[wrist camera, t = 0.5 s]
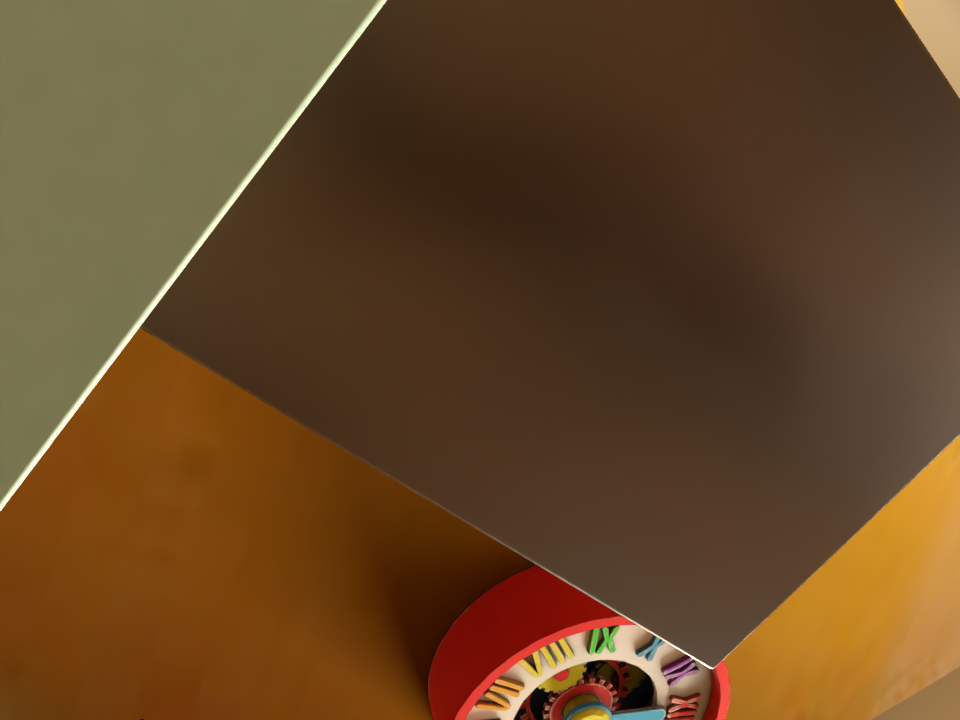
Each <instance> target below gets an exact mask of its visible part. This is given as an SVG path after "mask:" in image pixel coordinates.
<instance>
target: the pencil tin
mask: <svg viewBox="0 0 960 720" xmlns="http://www.w3.org/2000/svg"><path fill="white" fill-rule="evenodd" d="M386 1H387V0H0V511H1V510H2V508H3V507H4V506H5V504H6V503H7V502H8V500H9V499H10V498H11V496H12V495H13V494H14V493H15V491H16V490H17V489H18V487H19V486H20V485H21V483H22V482H23V481H24V479H25V478H26V477H27V475H28V474H29V473H30V471H31V470H32V469H33V467H34V466H35V465H36V463H37V462H38V461H39V459H40V458H41V457H42V456H43V454H44V453H45V452H46V450H47V449H48V448H49V446H50V445H51V444H52V442H53V441H54V440H55V438H56V437H57V436H58V434H59V433H60V432H61V430H62V429H63V428H64V426H65V425H66V424H67V423H68V421H69V420H70V419H71V417H72V416H73V415H74V413H75V412H76V411H77V409H78V408H79V407H80V405H81V404H82V403H83V401H84V400H85V399H86V397H87V396H88V395H89V393H90V392H91V391H92V389H93V388H94V387H95V386H96V384H97V383H98V382H99V380H100V379H101V378H102V376H103V375H104V374H105V372H106V371H107V370H108V368H109V367H110V366H111V364H112V363H113V362H114V360H115V359H116V358H117V356H118V355H119V354H120V352H121V351H122V350H123V349H124V347H125V346H126V345H127V343H128V342H129V341H130V339H131V338H132V337H133V335H134V334H135V333H136V331H137V330H138V329H139V327H140V326H141V325H142V323H143V322H144V321H145V319H146V318H147V317H148V315H149V314H150V313H151V312H152V310H153V309H154V308H155V306H156V305H157V304H158V302H159V301H160V300H161V298H162V297H163V296H164V294H165V293H166V292H167V290H168V289H169V288H170V286H171V285H172V284H173V282H174V281H175V280H176V279H177V277H178V276H179V275H180V273H181V272H182V271H183V269H184V268H185V267H186V265H187V264H188V263H189V261H190V260H191V259H192V257H193V256H194V255H195V253H196V252H197V251H198V249H199V248H200V247H201V245H202V244H203V243H204V242H205V240H206V239H207V238H208V236H209V235H210V234H211V232H212V231H213V230H214V228H215V227H216V226H217V224H218V223H219V222H220V220H221V219H222V218H223V216H224V215H225V214H226V212H227V211H228V210H229V208H230V207H231V206H232V205H233V203H234V202H235V201H236V199H237V198H238V197H239V195H240V194H241V193H242V191H243V190H244V189H245V187H246V186H247V185H248V183H249V182H250V181H251V179H252V178H253V177H254V175H255V174H256V173H257V171H258V170H259V169H260V168H261V166H262V165H263V164H264V162H265V161H266V160H267V158H268V157H269V156H270V154H271V153H272V152H273V150H274V149H275V148H276V146H277V145H278V144H279V142H280V141H281V140H282V138H283V137H284V136H285V135H286V133H287V132H288V131H289V129H290V128H291V127H292V125H293V124H294V123H295V121H296V120H297V119H298V117H299V116H300V115H301V113H302V112H303V111H304V109H305V108H306V107H307V105H308V104H309V103H310V101H311V100H312V99H313V98H314V96H315V95H316V94H317V92H318V91H319V90H320V88H321V87H322V86H323V84H324V83H325V82H326V80H327V79H328V78H329V76H330V75H331V74H332V72H333V71H334V70H335V68H336V67H337V66H338V64H339V63H340V62H341V61H342V59H343V58H344V57H345V55H346V54H347V53H348V51H349V50H350V49H351V47H352V46H353V45H354V43H355V42H356V41H357V39H358V38H359V37H360V35H361V34H362V33H363V31H364V30H365V29H366V27H367V26H368V25H369V24H370V22H371V21H372V20H373V18H374V17H375V16H376V14H377V13H378V12H379V10H380V9H381V8H382V6H383V5H384V4H385V2H386Z"/></svg>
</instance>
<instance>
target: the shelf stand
mask: <svg viewBox="0 0 960 720" xmlns="http://www.w3.org/2000/svg"><path fill="white" fill-rule="evenodd" d="M139 328H141V329H142V330H144V331H146V332H147V333H149V334H151V335H152V336H154V337H156V338H157V339H159V340H161V341H162V342H164V343H166V344H168V345H169V346H171V347H173V348H174V349H176V350H178V351H179V352H181V353H183V354H184V355H186V356H188V357H189V358H191V359H193V360H194V361H196V362H198V363H199V364H201V365H203V366H204V367H206V368H208V369H209V370H211V371H213V372H214V373H216V374H218V375H219V376H221V377H223V378H224V379H226V380H228V381H229V382H231V383H233V384H234V385H236V386H238V387H239V388H241V389H243V390H244V391H246V392H248V393H250V394H251V395H253V396H255V397H256V398H258V399H260V400H261V401H263V402H265V403H266V404H268V405H270V406H271V407H273V408H275V409H276V410H278V411H280V412H281V413H283V414H285V415H286V416H288V417H290V418H291V419H293V420H295V421H296V422H298V423H300V424H301V425H303V426H305V427H306V428H308V429H310V430H311V431H313V432H315V433H316V434H318V435H320V436H321V437H323V438H325V439H326V440H328V441H330V442H332V443H333V444H335V445H337V446H338V447H340V448H342V449H343V450H345V451H347V452H348V453H350V454H352V455H353V456H355V457H357V458H358V459H360V460H362V461H363V462H365V463H367V464H368V465H370V466H372V467H373V468H375V469H377V470H378V471H380V472H382V473H383V474H385V475H387V476H388V477H390V478H392V479H393V480H395V481H397V482H398V483H400V484H402V485H403V486H405V487H407V488H409V489H410V490H412V491H414V492H415V493H417V494H419V495H420V496H422V497H424V498H425V499H427V500H429V501H430V502H432V503H434V504H435V505H437V506H439V507H440V508H442V509H444V510H445V511H447V512H449V513H450V514H452V515H454V516H455V517H457V518H459V519H460V520H462V521H464V522H465V523H467V524H469V525H470V526H472V527H474V528H475V529H477V530H479V531H480V532H482V533H484V534H485V535H487V536H489V537H491V538H492V539H494V540H496V541H497V542H499V543H501V544H502V545H504V546H506V547H507V548H509V549H511V550H512V551H514V552H516V553H517V554H519V555H521V556H522V557H524V558H526V559H527V560H529V561H531V562H532V563H534V564H536V565H537V566H539V567H541V568H542V569H544V570H546V571H547V572H549V573H551V574H552V575H554V576H556V577H557V578H559V579H561V580H562V581H564V582H566V583H567V584H569V585H571V586H573V587H574V588H576V589H578V590H579V591H581V592H583V593H584V594H586V595H588V596H589V597H591V598H593V599H594V600H596V601H598V602H599V603H601V604H603V605H604V606H606V607H608V608H609V609H611V610H613V611H614V612H616V613H618V614H619V615H621V616H623V617H624V618H626V619H628V620H629V621H631V622H633V623H634V624H636V625H638V626H639V627H641V628H643V629H644V630H646V631H648V632H650V633H651V634H653V635H655V636H656V637H658V638H660V639H661V640H663V641H665V642H666V643H668V644H670V645H671V646H673V647H675V648H676V649H678V650H680V651H681V652H683V653H685V654H686V655H688V656H690V657H691V658H693V659H695V660H696V661H698V662H700V663H701V664H703V665H705V666H706V667H708V668H710V669H714V668H715V667H716V666H717V665H718V664H719V663H720V662H722V661H723V660H724V659H725V658H726V657H727V656H728V655H729V654H730V653H731V652H732V651H733V650H734V649H735V648H736V647H737V646H738V645H739V644H740V643H741V642H743V641H744V640H745V639H746V638H747V637H748V636H749V635H750V634H751V633H752V632H753V631H754V630H755V629H756V628H757V627H758V626H759V625H760V624H761V623H763V622H764V621H765V620H766V619H767V618H768V617H769V616H770V615H771V614H772V613H773V612H774V611H775V610H776V609H777V608H778V607H779V606H780V605H781V604H783V603H784V602H785V601H786V600H787V599H788V598H789V597H790V596H791V595H792V594H793V593H794V592H795V591H796V590H797V589H798V588H799V587H800V586H801V585H803V584H804V583H805V582H806V581H807V580H808V579H809V578H810V577H811V576H812V575H813V574H814V573H815V572H816V571H817V570H818V569H819V568H820V567H821V566H823V565H824V564H825V563H826V562H827V561H828V560H829V559H830V558H831V557H832V556H833V555H834V554H835V553H836V552H837V551H838V550H839V549H840V548H841V547H843V546H844V545H845V544H846V543H847V542H848V541H849V540H850V539H851V538H852V537H853V536H854V535H855V534H856V533H857V532H858V531H859V530H860V529H861V528H862V527H864V526H865V525H866V524H867V523H868V522H869V521H870V520H871V519H872V518H873V517H874V516H875V515H876V514H877V513H878V512H879V511H880V510H881V509H882V508H884V507H885V506H886V505H887V504H888V503H889V502H890V501H891V500H892V499H893V498H894V497H895V496H896V495H897V494H898V493H899V492H900V491H901V490H902V489H904V488H905V487H906V486H907V485H908V484H909V483H910V482H911V481H912V480H913V479H914V478H915V477H916V476H917V475H918V474H919V473H920V472H921V471H922V470H924V469H925V468H926V467H927V466H928V465H929V464H930V463H931V462H932V461H933V460H934V459H935V458H936V457H937V456H938V455H939V454H940V453H941V452H942V451H944V450H945V449H946V448H947V447H948V446H949V445H950V444H951V443H952V442H953V441H954V440H955V439H956V438H957V437H958V436H959V435H960V99H959V97H958V96H957V94H956V93H955V91H954V90H953V88H952V87H951V85H950V84H949V82H948V81H947V79H946V78H945V76H944V75H943V73H942V71H941V70H940V68H939V67H938V65H937V64H936V62H935V61H934V59H933V58H932V57H931V55H930V53H929V52H928V51H927V49H926V47H925V46H924V44H923V43H922V41H921V40H920V39H919V37H918V35H917V34H916V32H915V31H914V29H913V28H912V26H911V25H910V23H909V22H908V20H907V19H906V17H905V16H904V14H903V13H902V11H901V10H900V8H899V7H898V5H897V4H896V2H895V0H387V1H386V2H385V4H384V5H383V6H382V8H381V9H380V10H379V12H378V13H377V14H376V16H375V17H374V18H373V20H372V21H371V22H370V24H369V25H368V26H367V27H366V29H365V30H364V31H363V33H362V34H361V35H360V37H359V38H358V39H357V41H356V42H355V43H354V45H353V46H352V47H351V49H350V50H349V51H348V53H347V54H346V55H345V57H344V58H343V59H342V61H341V62H340V63H339V64H338V66H337V67H336V68H335V70H334V71H333V72H332V74H331V75H330V76H329V78H328V79H327V80H326V82H325V83H324V84H323V86H322V87H321V88H320V90H319V91H318V92H317V94H316V95H315V96H314V98H313V99H312V100H311V101H310V103H309V104H308V105H307V107H306V108H305V109H304V111H303V112H302V113H301V115H300V116H299V117H298V119H297V120H296V121H295V123H294V124H293V125H292V127H291V128H290V129H289V131H288V132H287V133H286V135H285V136H284V137H283V138H282V140H281V141H280V142H279V144H278V145H277V146H276V148H275V149H274V150H273V152H272V153H271V154H270V156H269V157H268V158H267V160H266V161H265V162H264V164H263V165H262V166H261V168H260V169H259V170H258V171H257V173H256V174H255V175H254V177H253V178H252V179H251V181H250V182H249V183H248V185H247V186H246V187H245V189H244V190H243V191H242V193H241V194H240V195H239V197H238V198H237V199H236V201H235V202H234V203H233V205H232V206H231V207H230V208H229V210H228V211H227V212H226V214H225V215H224V216H223V218H222V219H221V220H220V222H219V223H218V224H217V226H216V227H215V228H214V230H213V231H212V232H211V234H210V235H209V236H208V238H207V239H206V240H205V242H204V243H203V244H202V245H201V247H200V248H199V249H198V251H197V252H196V253H195V255H194V256H193V257H192V259H191V260H190V261H189V263H188V264H187V265H186V267H185V268H184V269H183V271H182V272H181V273H180V275H179V276H178V277H177V279H176V280H175V281H174V282H173V284H172V285H171V286H170V288H169V289H168V290H167V292H166V293H165V294H164V296H163V297H162V298H161V300H160V301H159V302H158V304H157V305H156V306H155V308H154V309H153V310H152V312H151V313H150V314H149V315H148V317H147V318H146V319H145V321H144V322H143V323H142V325H141V326H140V327H139Z"/></svg>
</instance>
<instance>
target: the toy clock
mask: <svg viewBox="0 0 960 720" xmlns="http://www.w3.org/2000/svg"><path fill="white" fill-rule="evenodd" d="M428 688H429V702H430V707H431V712H432V717H433V720H725V718H726V715H727V710H728V705H729V700H730V679H729V676H728V672H727V668H726V664H725V662H724V661H722V662H720V663H719V664H718V665H717V666H716V667H715V668H714V669H710V668H708V667H706V666H705V665H703V664H701V663H700V662H698V661H696V660H695V659H693V658H691V657H690V656H688V655H686V654H685V653H683V652H681V651H680V650H678V649H676V648H675V647H673V646H671V645H670V644H668V643H666V642H665V641H663V640H661V639H660V638H658V637H656V636H655V635H653V634H651V633H650V632H648V631H646V630H644V629H643V628H641V627H639V626H638V625H636V624H634V623H633V622H631V621H629V620H628V619H626V618H624V617H623V616H621V615H619V614H618V613H616V612H614V611H613V610H611V609H609V608H608V607H606V606H604V605H603V604H601V603H599V602H598V601H596V600H594V599H593V598H591V597H589V596H588V595H586V594H584V593H583V592H581V591H579V590H578V589H576V588H574V587H573V586H571V585H569V584H567V583H566V582H564V581H562V580H561V579H559V578H557V577H556V576H554V575H552V574H551V573H549V572H547V571H546V570H544V569H542V568H541V567H539V566H537V565H535V566H533V567H531V568H529V569H526V570H524V571H522V572H519V573H517V574H515V575H513V576H511V577H509V578H507V579H506V580H504V581H502V582H501V583H499V584H497V585H496V586H494V587H492V588H491V589H489V590H488V591H487V592H485V593H484V594H483V595H482V596H481V597H479V598H478V599H477V600H476V601H474V602H473V603H472V604H471V605H469V607H468V608H467V609H466V610H465V611H464V612H463V613H462V614H461V615H460V616H459V617H458V618H457V620H456V621H455V622H454V623H453V624H452V626H451V627H450V629H449V630H448V632H447V633H446V635H445V636H444V638H443V639H442V641H441V642H440V645H439V647H438V649H437V652H436V654H435V656H434V659H433V661H432V665H431V670H430V675H429V680H428Z"/></svg>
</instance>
